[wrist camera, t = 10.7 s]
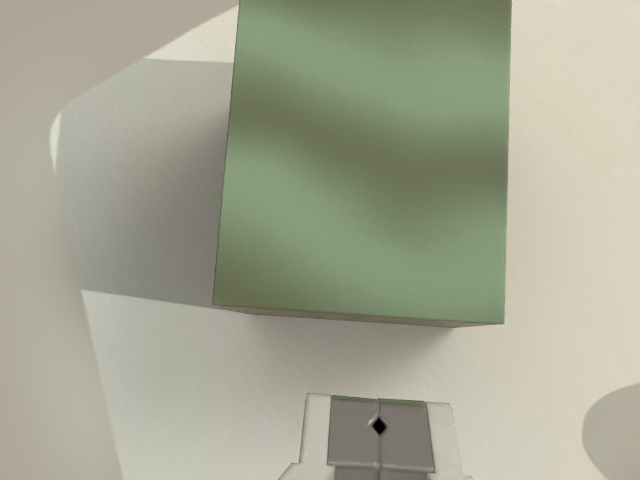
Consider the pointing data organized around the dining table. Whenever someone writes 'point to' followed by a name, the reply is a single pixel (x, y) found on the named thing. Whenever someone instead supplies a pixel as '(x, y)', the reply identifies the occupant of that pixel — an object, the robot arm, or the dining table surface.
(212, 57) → the dining table surface
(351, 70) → the lid
